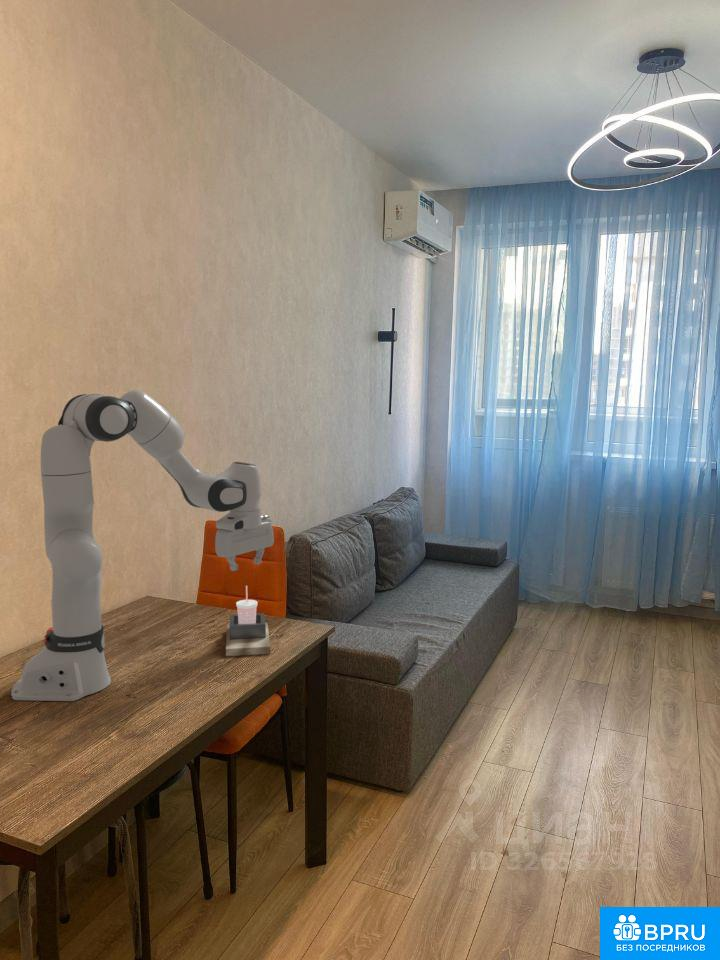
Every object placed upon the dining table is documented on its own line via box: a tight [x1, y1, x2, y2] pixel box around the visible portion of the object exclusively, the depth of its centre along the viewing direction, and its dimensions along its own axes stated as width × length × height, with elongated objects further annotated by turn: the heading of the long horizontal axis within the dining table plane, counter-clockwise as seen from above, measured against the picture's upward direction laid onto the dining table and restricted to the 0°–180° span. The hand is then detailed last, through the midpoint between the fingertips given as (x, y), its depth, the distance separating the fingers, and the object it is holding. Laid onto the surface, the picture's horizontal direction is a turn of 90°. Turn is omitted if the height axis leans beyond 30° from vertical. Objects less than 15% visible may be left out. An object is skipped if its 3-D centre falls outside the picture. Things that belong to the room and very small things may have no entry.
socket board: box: [225, 622, 272, 657], centre depth 214 cm, size 12×20×2 cm, turn 9°
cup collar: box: [229, 612, 266, 640], centre depth 215 cm, size 10×10×4 cm
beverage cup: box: [235, 585, 258, 624], centre depth 215 cm, size 6×6×14 cm
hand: (246, 567), depth 213 cm, fingers open, 8 cm apart
